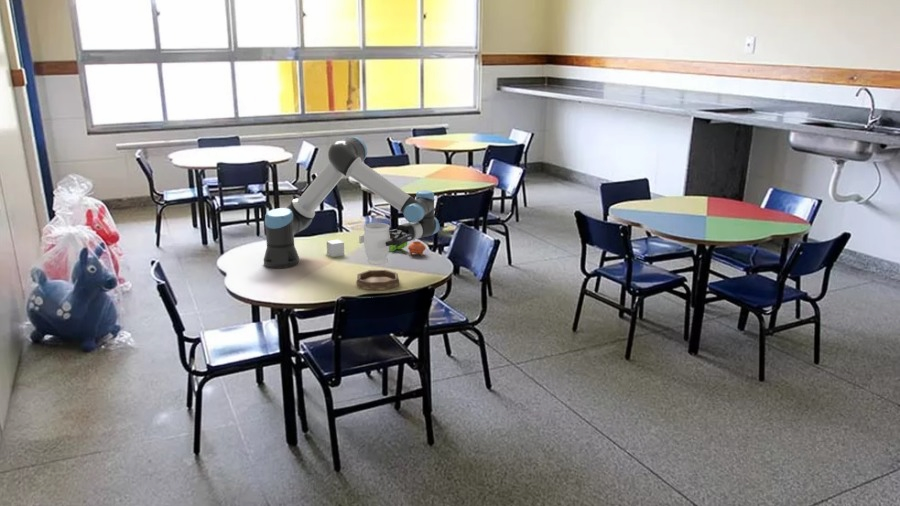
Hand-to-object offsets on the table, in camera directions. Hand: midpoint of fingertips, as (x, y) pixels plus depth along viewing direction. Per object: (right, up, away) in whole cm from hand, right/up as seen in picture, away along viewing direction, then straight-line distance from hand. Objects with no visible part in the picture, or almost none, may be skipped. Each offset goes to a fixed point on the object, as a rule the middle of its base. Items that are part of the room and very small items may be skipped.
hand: (369, 242), depth 270 cm
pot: (+17, -5, +46) cm, 49 cm away
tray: (+3, -16, +8) cm, 18 cm away
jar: (+3, -8, +6) cm, 10 cm away
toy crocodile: (+3, -2, +55) cm, 55 cm away
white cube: (-21, -5, +45) cm, 50 cm away
